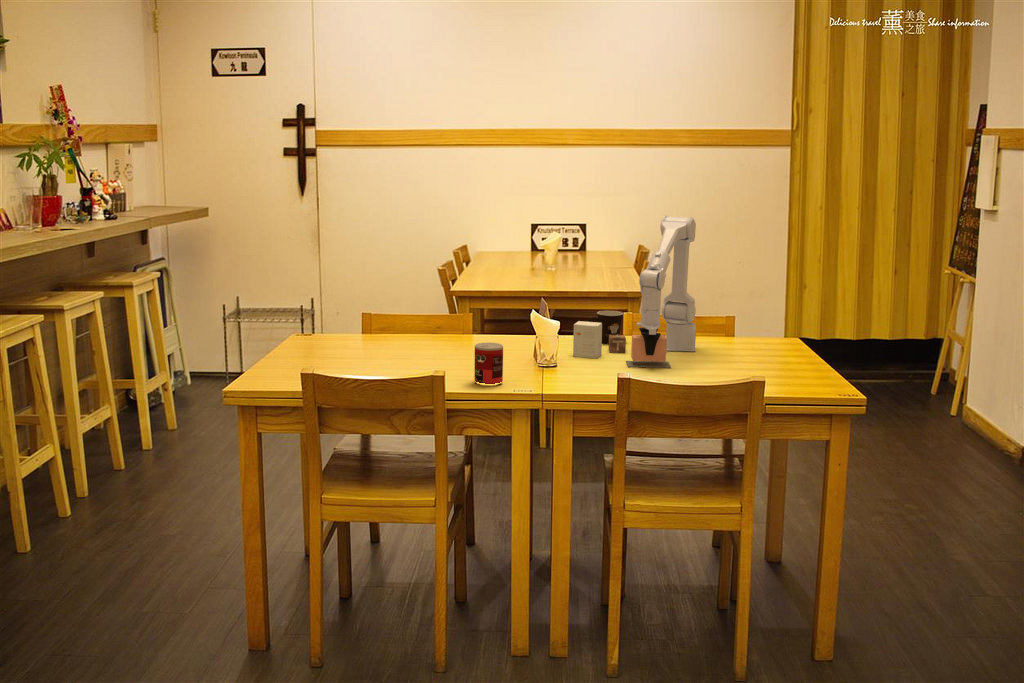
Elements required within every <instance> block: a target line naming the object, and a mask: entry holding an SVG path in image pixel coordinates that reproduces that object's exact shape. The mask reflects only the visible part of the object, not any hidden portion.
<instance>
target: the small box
mask: <svg viewBox="0 0 1024 683" xmlns="http://www.w3.org/2000/svg"><path fill="white" fill-rule="evenodd" d="M572 341H573V342H572V343H573V345H572V346H573V348H572V351H573V352H572V355H573V357H574V358H575V357H577V358H585V359H587V358H588V359H598V358H600V356H602V351H603V350H602V345H603V344H602V323H598V322H597V321H596V322H595V321H594V322H593V321H590V322H588V321H580V320H578V321H577V322H575V323H574V324H573V340H572Z"/></svg>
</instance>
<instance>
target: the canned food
mask: <svg viewBox="0 0 1024 683" xmlns="http://www.w3.org/2000/svg"><path fill="white" fill-rule="evenodd" d="M503 374H504V345H503V344H501V343H498V342H479V343H475V345H474V382H475V381H476V382H479V383H485V384H495V383H500V382H502V383H503V380H504V379H503V378H504V377H503Z"/></svg>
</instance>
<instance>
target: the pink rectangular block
mask: <svg viewBox="0 0 1024 683" xmlns="http://www.w3.org/2000/svg"><path fill="white" fill-rule="evenodd" d="M666 348H667V338H666V334H665V335H663V334H662V335H660V337H659V339H658V341H657V344H656V347H655V351H654V355H646V350H645V342H644V338H643V335H641V334H632V335H631V349H630V350H631V352H630V358H631V361H667V351H666Z"/></svg>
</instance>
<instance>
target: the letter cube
mask: <svg viewBox="0 0 1024 683" xmlns="http://www.w3.org/2000/svg"><path fill="white" fill-rule="evenodd" d="M626 343H627V337H626V335H625V334H620V335H609V345H608V353H609V354H626V345H627V344H626Z"/></svg>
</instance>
